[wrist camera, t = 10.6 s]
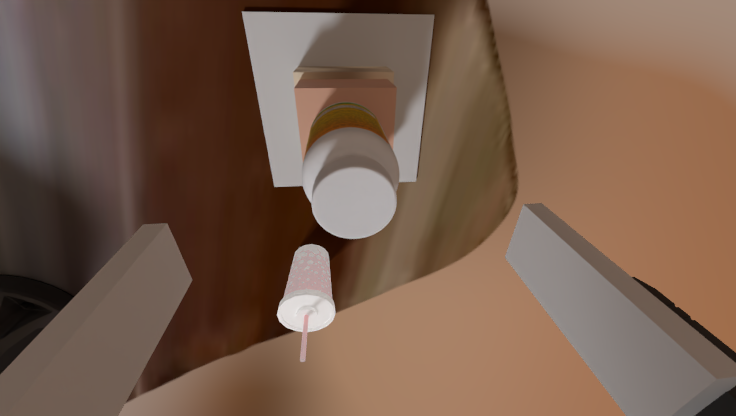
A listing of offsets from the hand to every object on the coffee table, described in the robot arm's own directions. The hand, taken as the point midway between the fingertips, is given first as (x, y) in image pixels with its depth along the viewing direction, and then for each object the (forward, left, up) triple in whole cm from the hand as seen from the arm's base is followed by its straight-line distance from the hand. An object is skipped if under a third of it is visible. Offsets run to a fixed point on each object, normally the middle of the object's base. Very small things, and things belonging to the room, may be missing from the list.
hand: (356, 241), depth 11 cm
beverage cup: (-5, -19, -21) cm, 29 cm away
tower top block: (0, 0, -16) cm, 16 cm away
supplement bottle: (0, 0, -12) cm, 12 cm away
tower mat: (0, 0, -21) cm, 21 cm away
